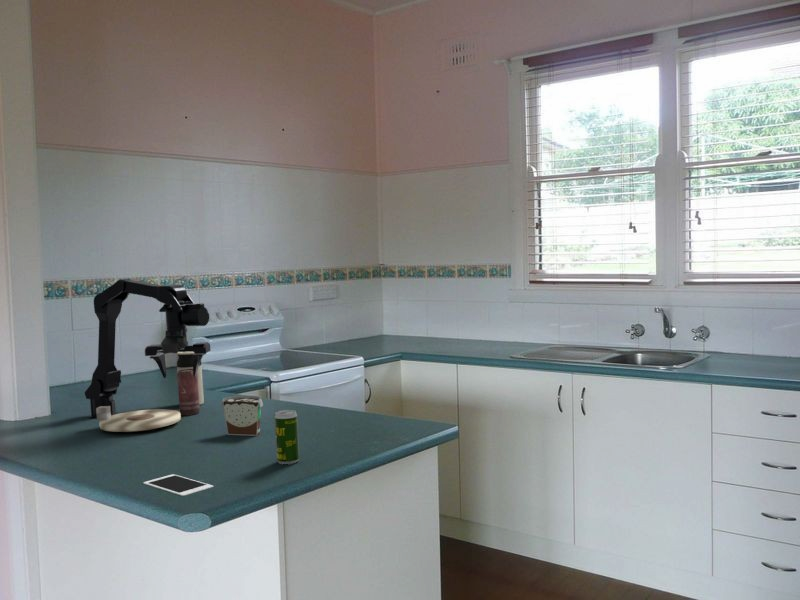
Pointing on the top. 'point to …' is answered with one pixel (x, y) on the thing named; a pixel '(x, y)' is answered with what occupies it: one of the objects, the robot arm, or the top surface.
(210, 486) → the cell phone
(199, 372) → the travel mug
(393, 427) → the top surface
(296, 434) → the beer can
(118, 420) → the turntable
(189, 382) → the can
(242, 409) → the food container
